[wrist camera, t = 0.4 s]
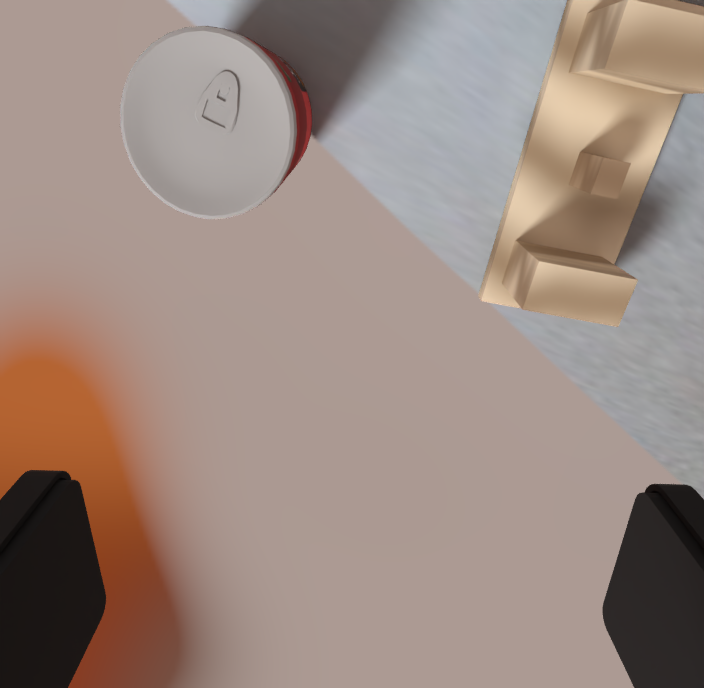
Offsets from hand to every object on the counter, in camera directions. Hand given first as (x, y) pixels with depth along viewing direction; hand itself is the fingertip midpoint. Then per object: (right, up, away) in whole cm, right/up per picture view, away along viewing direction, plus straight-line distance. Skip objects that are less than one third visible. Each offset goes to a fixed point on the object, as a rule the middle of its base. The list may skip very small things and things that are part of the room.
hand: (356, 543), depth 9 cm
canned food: (-6, +17, +24) cm, 31 cm away
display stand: (+14, +15, +25) cm, 33 cm away
